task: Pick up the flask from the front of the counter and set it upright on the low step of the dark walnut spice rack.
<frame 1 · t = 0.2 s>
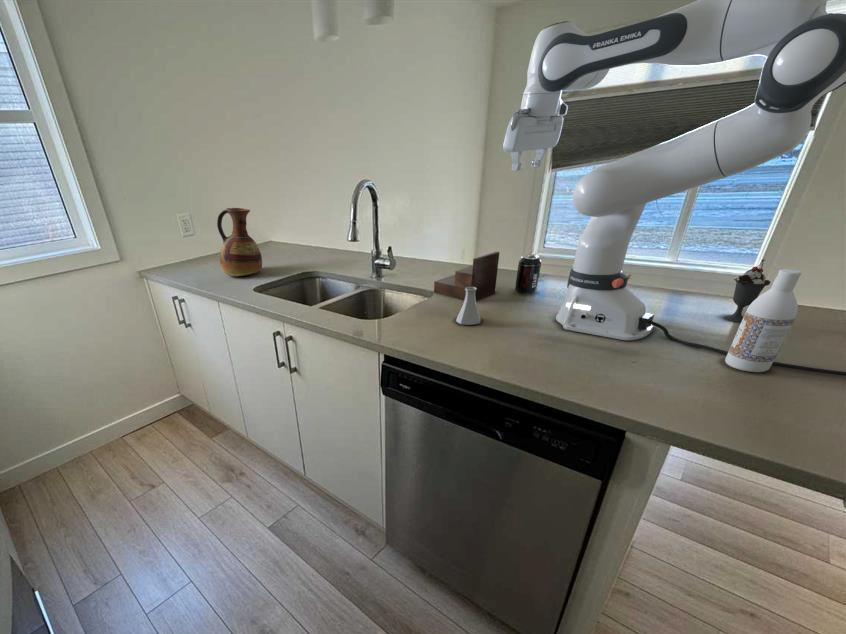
hand: (525, 169, 110), 38 cm above the countertop, tool pointing down, fingers open, 8 cm apart
spice rack: (463, 292, 143), on the countertop
ceramic pitcher: (243, 274, 195), on the countertop
sundae: (735, 319, 105), on the countertop
flask: (468, 321, 119), on the countertop
bath foam: (745, 366, 85), on the countertop
beverage can: (525, 292, 137), on the countertop
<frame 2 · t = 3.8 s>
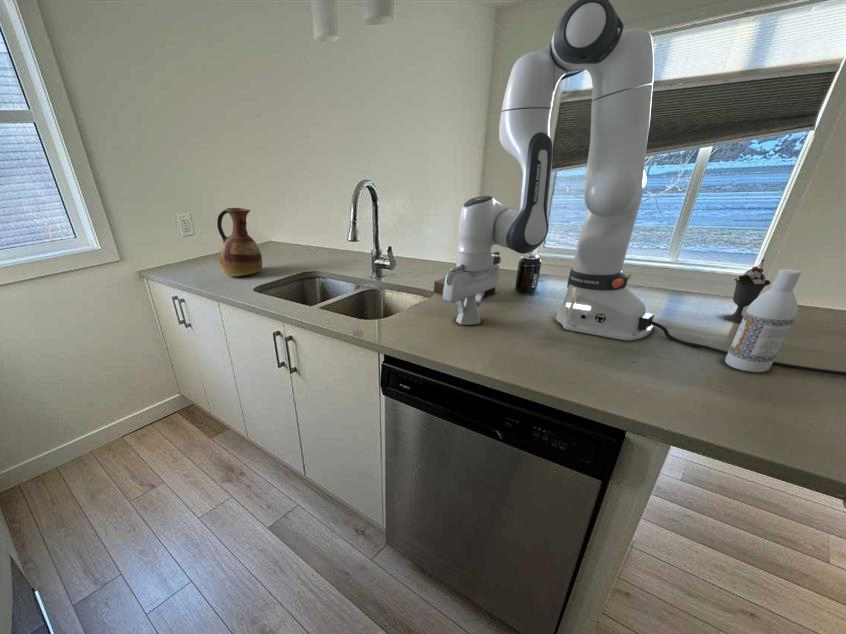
hand: (469, 309, 117), 4 cm above the countertop, tool pointing down, fingers closed on flask, 5 cm apart
flask: (468, 322, 119), on the countertop, touching gripper
everything else where it was.
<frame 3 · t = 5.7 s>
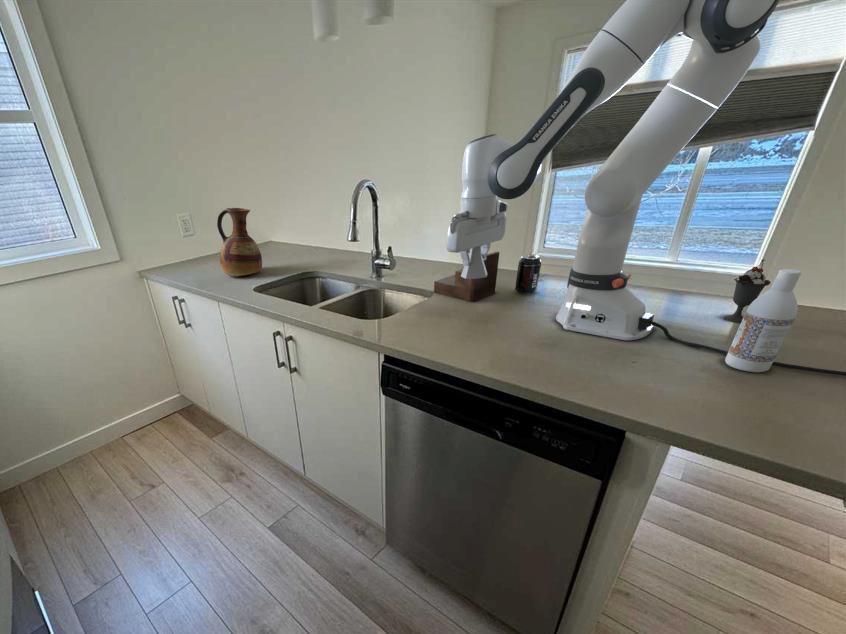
hand: (474, 263, 111), 17 cm above the countertop, tool pointing down, fingers closed on flask, 5 cm apart
flask: (473, 277, 112), point 13 cm above the countertop, touching gripper
everything else where it was.
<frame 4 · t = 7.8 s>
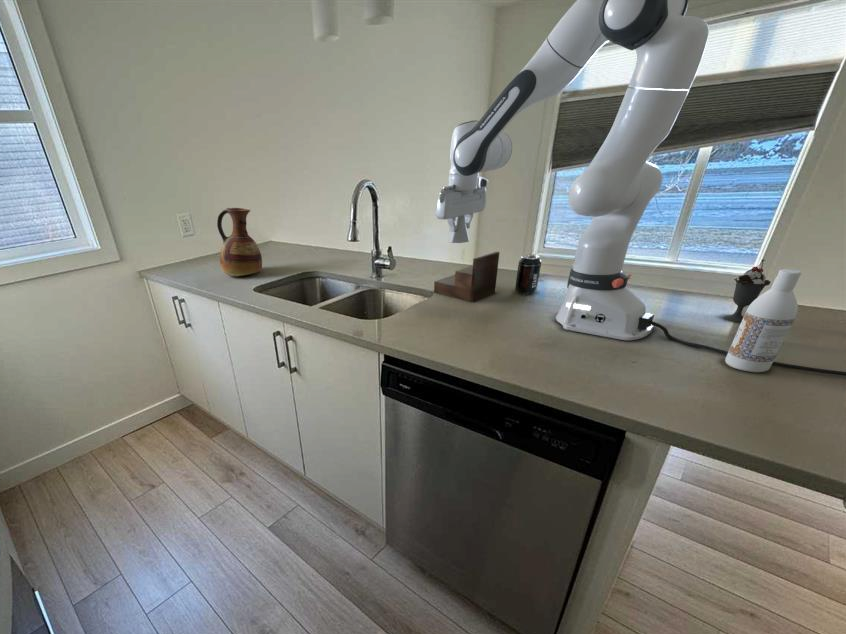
hand: (459, 230, 132), 21 cm above the countertop, tool pointing down, fingers closed on flask, 5 cm apart
flask: (458, 242, 134), point 18 cm above the countertop, touching gripper
everything else where it was.
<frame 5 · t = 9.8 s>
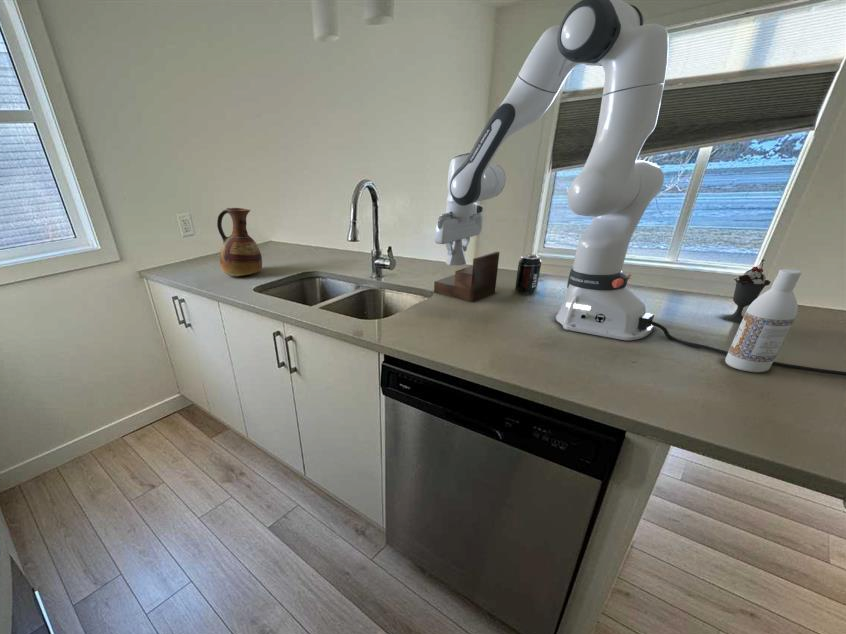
hand: (457, 253, 139), 13 cm above the countertop, tool pointing down, fingers closed on flask, 5 cm apart
flask: (456, 264, 141), point 9 cm above the countertop, touching gripper
everything else where it was.
when the fingers open (7 cm above the countertop, at t = 11.7 s): flask stays where it is, resting on spice rack.
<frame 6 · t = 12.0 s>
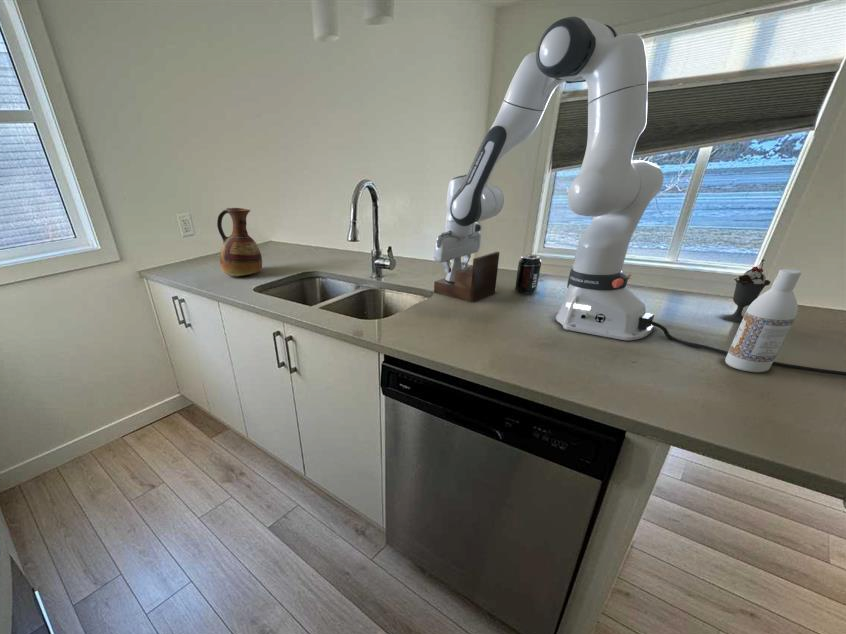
hand: (456, 270, 142), 7 cm above the countertop, tool pointing down, fingers open, 7 cm apart
flask: (455, 280, 144), point 4 cm above the countertop, touching spice rack
everything else where it was.
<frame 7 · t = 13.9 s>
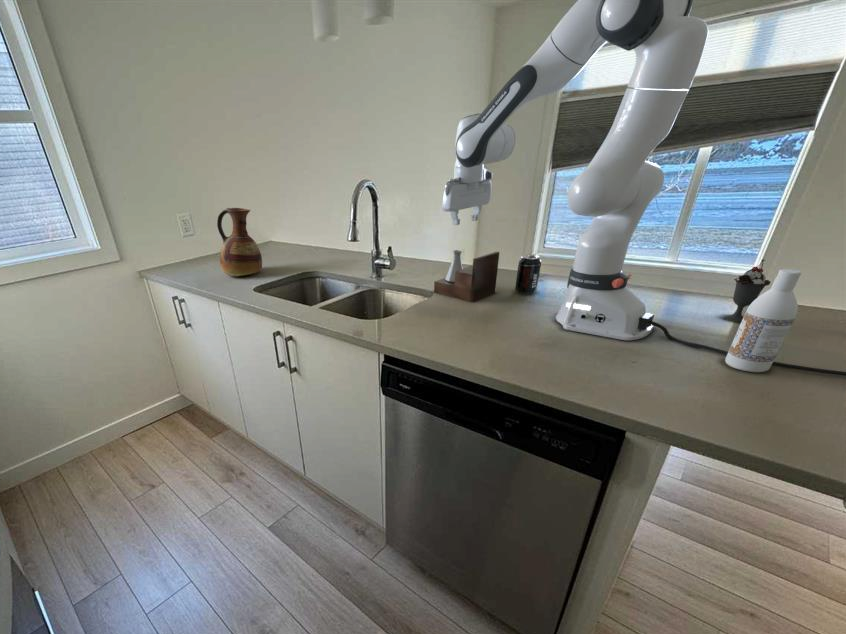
hand: (465, 222, 133), 23 cm above the countertop, tool pointing down, fingers open, 8 cm apart
nothing on the countertop moved.
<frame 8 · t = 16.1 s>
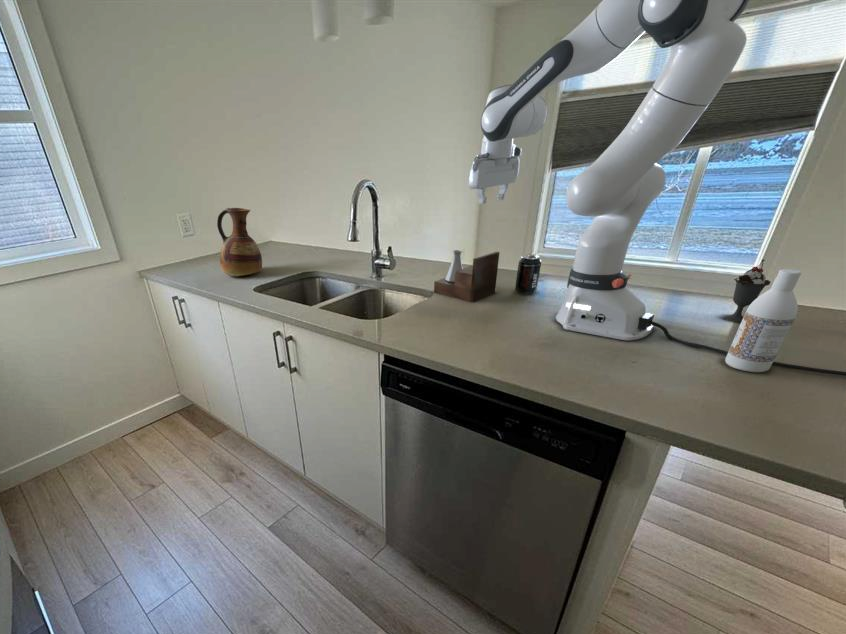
hand: (491, 201, 129), 29 cm above the countertop, tool pointing down, fingers open, 8 cm apart
nothing on the countertop moved.
at the end: flask inside the target area on the spice rack (0.2 cm from its centre), point 3.8 cm above the spice rack's base; flask tilted 0°; the gripper is holding nothing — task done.
